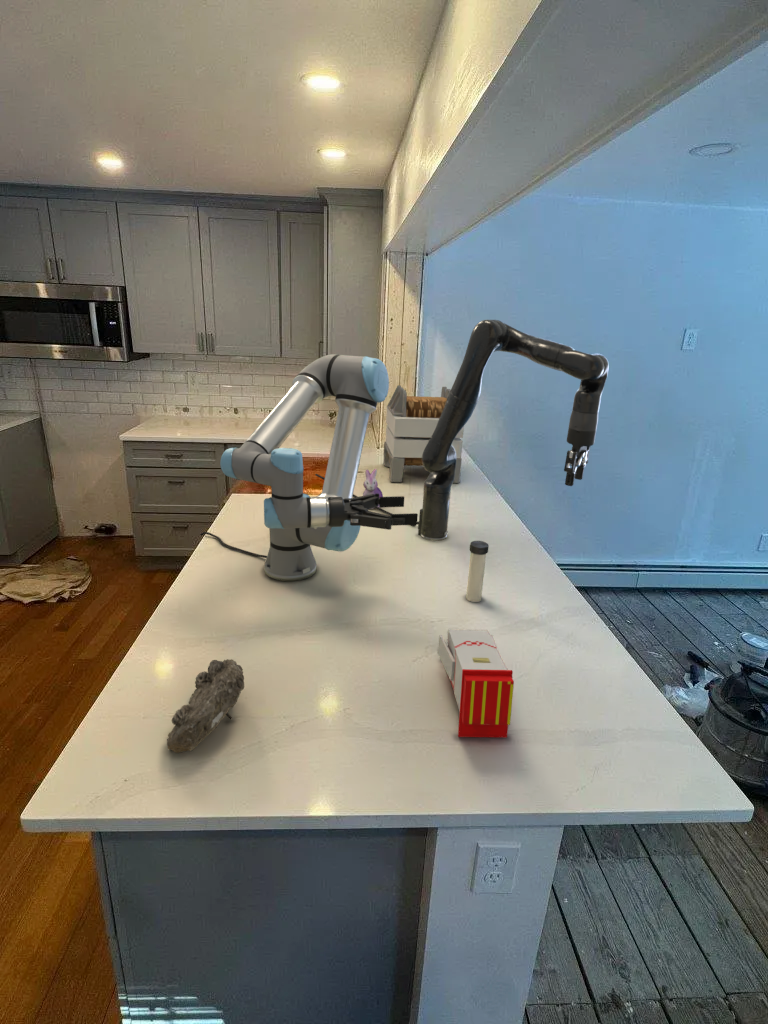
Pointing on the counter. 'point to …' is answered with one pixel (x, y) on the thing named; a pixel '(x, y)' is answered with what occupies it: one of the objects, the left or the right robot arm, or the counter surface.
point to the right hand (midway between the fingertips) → (573, 482)
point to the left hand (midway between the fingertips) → (410, 509)
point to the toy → (478, 682)
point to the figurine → (371, 484)
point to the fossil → (206, 705)
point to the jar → (475, 577)
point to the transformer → (414, 431)
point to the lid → (479, 547)
